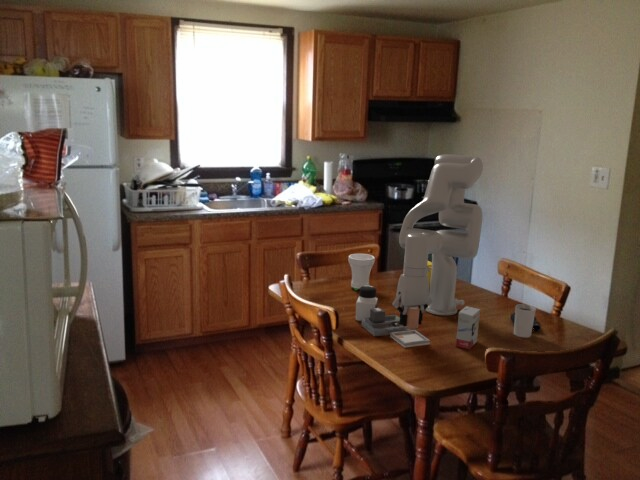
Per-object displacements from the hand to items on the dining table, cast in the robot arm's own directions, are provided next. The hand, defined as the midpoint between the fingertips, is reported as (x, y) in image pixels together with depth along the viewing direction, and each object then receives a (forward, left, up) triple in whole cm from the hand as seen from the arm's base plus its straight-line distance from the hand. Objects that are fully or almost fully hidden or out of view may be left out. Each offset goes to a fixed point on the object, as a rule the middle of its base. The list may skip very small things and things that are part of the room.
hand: (410, 323), depth 192 cm
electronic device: (-50, -2, -7) cm, 50 cm away
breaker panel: (+3, -12, -6) cm, 13 cm away
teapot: (-35, -51, -6) cm, 62 cm away
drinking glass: (-42, +6, -6) cm, 43 cm away
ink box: (-17, +8, -6) cm, 20 cm away
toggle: (+6, -12, -3) cm, 14 cm away
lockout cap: (0, 0, -1) cm, 1 cm away
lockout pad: (0, 0, -6) cm, 6 cm away
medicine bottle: (+5, -23, -6) cm, 24 cm away
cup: (-8, -56, -6) cm, 57 cm away
